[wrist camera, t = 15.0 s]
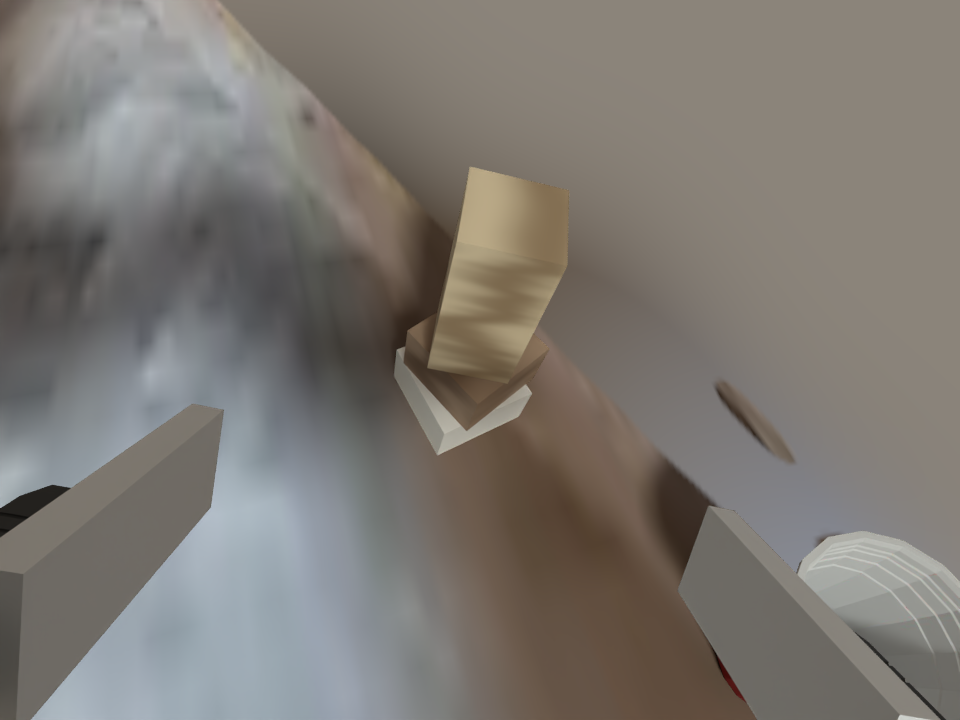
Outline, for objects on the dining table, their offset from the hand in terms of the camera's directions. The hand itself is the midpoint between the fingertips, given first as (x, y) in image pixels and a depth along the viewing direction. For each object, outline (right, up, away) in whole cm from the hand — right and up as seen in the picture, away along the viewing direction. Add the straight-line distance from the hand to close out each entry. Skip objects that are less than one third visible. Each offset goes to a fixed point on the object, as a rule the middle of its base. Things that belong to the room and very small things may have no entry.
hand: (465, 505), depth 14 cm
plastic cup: (+18, -16, +21) cm, 32 cm away
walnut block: (0, +3, +24) cm, 24 cm away
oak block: (0, +5, +20) cm, 21 cm away
